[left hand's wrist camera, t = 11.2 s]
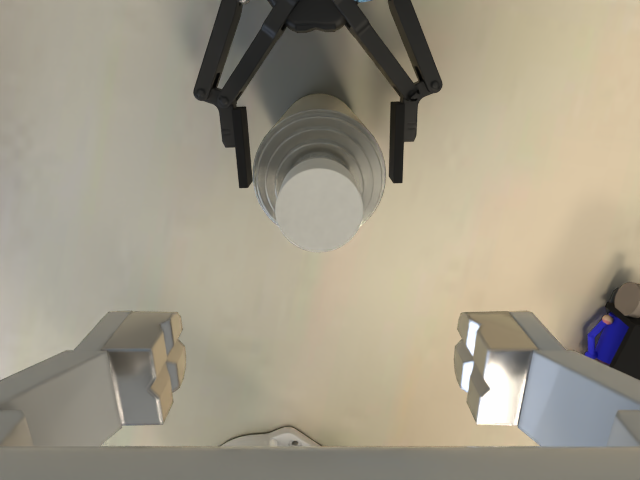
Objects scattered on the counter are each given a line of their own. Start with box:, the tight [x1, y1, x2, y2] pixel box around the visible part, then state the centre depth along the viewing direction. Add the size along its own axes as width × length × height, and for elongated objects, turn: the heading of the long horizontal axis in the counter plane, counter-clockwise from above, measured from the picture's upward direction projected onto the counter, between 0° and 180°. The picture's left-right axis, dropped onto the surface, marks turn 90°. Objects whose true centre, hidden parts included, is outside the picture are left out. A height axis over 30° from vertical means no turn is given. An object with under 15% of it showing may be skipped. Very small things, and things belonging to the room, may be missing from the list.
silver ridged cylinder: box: [253, 93, 386, 226], centre depth 32 cm, size 8×8×26 cm
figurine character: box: [585, 282, 640, 380], centre depth 49 cm, size 7×8×15 cm
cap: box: [275, 158, 363, 252], centre depth 20 cm, size 4×4×2 cm
